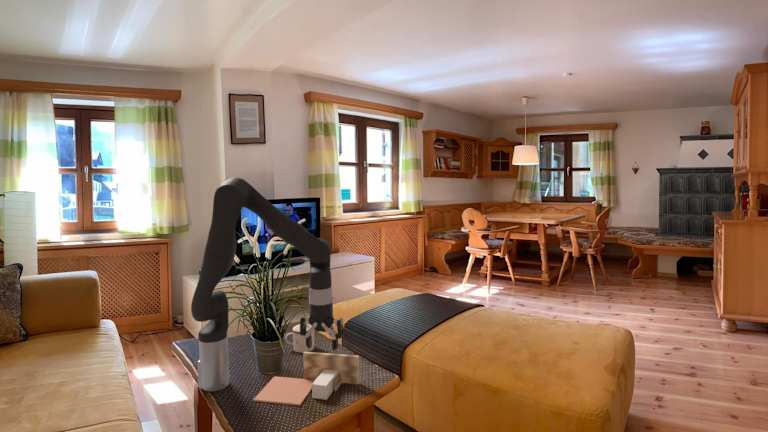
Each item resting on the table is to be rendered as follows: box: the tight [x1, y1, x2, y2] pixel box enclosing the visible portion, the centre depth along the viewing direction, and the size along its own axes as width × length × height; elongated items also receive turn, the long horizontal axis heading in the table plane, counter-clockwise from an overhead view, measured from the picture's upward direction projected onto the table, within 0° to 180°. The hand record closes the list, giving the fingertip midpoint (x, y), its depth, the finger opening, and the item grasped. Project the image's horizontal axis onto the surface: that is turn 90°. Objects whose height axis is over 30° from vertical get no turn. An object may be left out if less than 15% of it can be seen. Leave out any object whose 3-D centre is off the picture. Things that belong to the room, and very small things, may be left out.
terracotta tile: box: [252, 375, 315, 407], centre depth 149 cm, size 16×16×1 cm
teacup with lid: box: [284, 323, 315, 354], centre depth 182 cm, size 12×9×12 cm
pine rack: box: [302, 351, 360, 393], centre depth 152 cm, size 20×7×10 cm, turn 80°
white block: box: [311, 369, 338, 401], centre depth 149 cm, size 5×11×5 cm, turn 166°
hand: (322, 348), depth 144 cm, fingers open, 8 cm apart
